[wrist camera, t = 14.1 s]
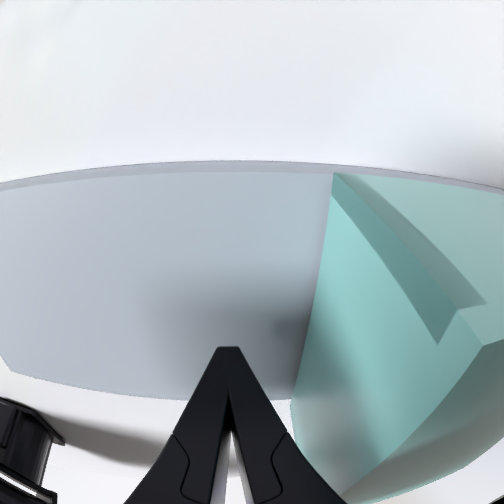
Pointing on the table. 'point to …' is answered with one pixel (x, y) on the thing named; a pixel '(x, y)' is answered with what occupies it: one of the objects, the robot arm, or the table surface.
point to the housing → (403, 337)
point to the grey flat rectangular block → (165, 271)
